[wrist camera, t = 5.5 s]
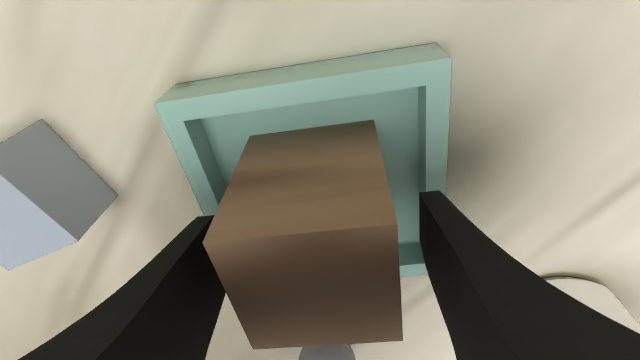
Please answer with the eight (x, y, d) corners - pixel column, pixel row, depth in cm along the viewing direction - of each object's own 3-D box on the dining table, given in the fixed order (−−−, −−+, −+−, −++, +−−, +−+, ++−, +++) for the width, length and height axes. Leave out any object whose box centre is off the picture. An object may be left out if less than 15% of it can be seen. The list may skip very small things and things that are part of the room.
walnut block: (381, 217, 15) (402, 340, 10) (277, 227, 15) (253, 349, 11) (373, 119, 12) (397, 223, 8) (249, 135, 13) (202, 242, 8)
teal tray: (432, 243, 16) (442, 273, 15) (246, 260, 17) (238, 290, 16) (436, 42, 11) (451, 57, 10) (175, 84, 12) (153, 103, 11)
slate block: (119, 193, 15) (78, 240, 13) (57, 221, 16) (8, 270, 14) (44, 117, 13) (-22, 156, 11) (-20, 155, 15) (-94, 198, 12)
